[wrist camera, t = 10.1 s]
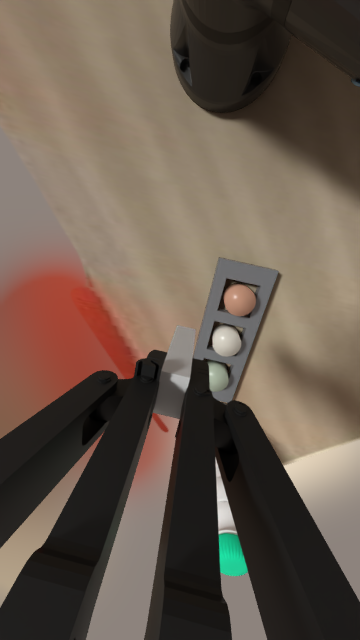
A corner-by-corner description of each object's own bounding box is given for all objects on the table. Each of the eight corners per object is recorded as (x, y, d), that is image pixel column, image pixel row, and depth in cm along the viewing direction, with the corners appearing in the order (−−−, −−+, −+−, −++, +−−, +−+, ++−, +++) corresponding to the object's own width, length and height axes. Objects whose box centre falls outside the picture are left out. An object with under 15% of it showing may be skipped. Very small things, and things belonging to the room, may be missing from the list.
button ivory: (215, 320, 42) (216, 328, 38) (241, 326, 41) (244, 334, 38) (209, 343, 43) (209, 352, 40) (233, 349, 43) (236, 359, 39)
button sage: (205, 356, 44) (205, 366, 41) (229, 362, 44) (231, 373, 40) (199, 376, 46) (199, 388, 42) (222, 382, 46) (224, 394, 42)
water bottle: (240, 407, 48) (273, 563, 24) (227, 429, 50) (247, 591, 27) (210, 396, 48) (214, 543, 24) (199, 419, 50) (193, 572, 27)
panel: (218, 257, 38) (219, 257, 36) (275, 269, 38) (278, 271, 36) (185, 386, 48) (184, 391, 46) (229, 397, 47) (230, 403, 45)
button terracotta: (227, 280, 39) (229, 283, 35) (254, 286, 39) (260, 290, 35) (220, 306, 41) (221, 312, 37) (246, 312, 40) (250, 319, 37)
